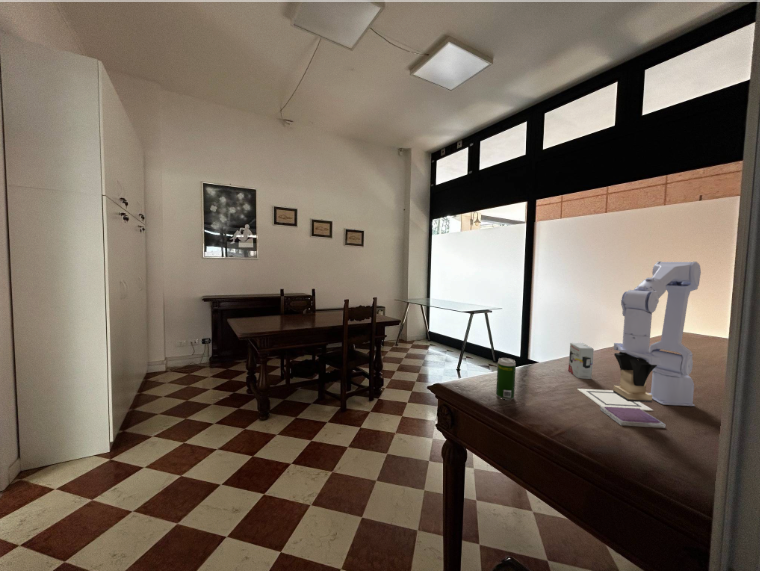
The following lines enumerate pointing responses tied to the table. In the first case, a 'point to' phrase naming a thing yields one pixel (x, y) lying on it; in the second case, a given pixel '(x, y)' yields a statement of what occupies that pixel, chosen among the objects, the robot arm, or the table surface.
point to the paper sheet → (611, 399)
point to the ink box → (581, 360)
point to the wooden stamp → (631, 389)
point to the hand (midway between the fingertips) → (632, 382)
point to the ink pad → (632, 417)
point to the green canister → (506, 378)
